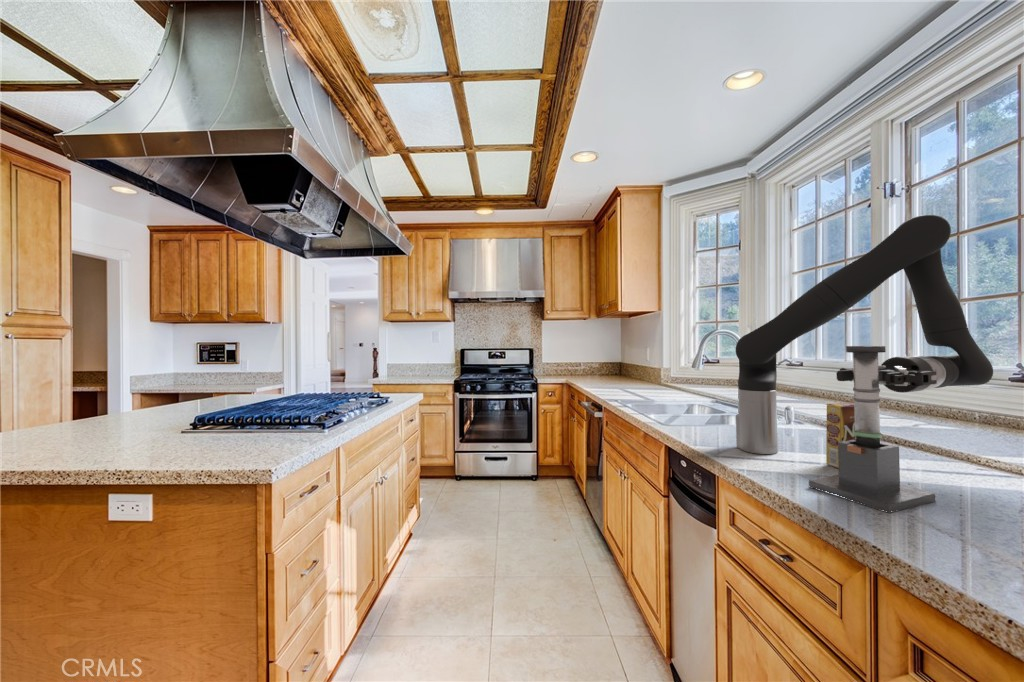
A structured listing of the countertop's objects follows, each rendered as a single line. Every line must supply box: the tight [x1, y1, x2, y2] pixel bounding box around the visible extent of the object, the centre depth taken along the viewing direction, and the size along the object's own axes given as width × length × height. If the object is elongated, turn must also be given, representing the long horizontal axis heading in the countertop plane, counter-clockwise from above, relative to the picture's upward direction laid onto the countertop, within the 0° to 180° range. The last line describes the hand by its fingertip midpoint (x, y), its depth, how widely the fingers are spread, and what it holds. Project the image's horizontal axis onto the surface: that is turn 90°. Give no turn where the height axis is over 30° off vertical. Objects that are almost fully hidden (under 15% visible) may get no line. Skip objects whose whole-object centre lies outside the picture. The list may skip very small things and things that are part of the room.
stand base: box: [808, 440, 936, 513], centre depth 82 cm, size 14×14×10 cm
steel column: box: [845, 345, 887, 448], centre depth 82 cm, size 6×6×21 cm
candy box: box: [825, 402, 855, 469], centre depth 99 cm, size 9×4×15 cm, turn 98°
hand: (862, 377), depth 81 cm, fingers open, 8 cm apart
